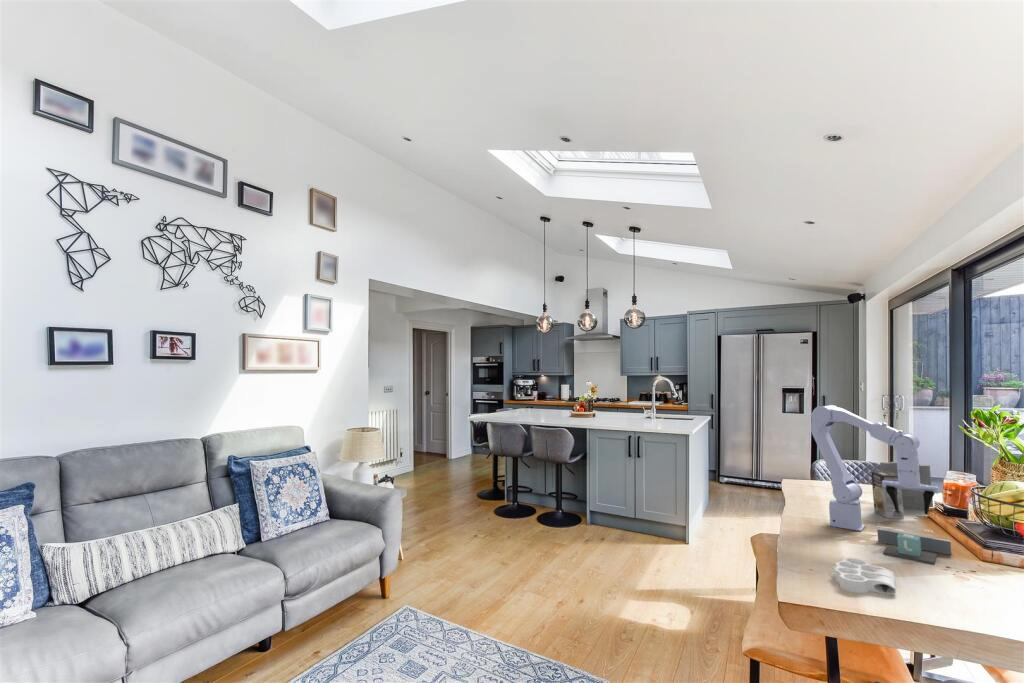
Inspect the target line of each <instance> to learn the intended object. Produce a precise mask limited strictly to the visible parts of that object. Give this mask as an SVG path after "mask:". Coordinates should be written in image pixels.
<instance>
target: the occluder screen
mask: <svg viewBox="0 0 1024 683" xmlns="http://www.w3.org/2000/svg"><path fill="white" fill-rule="evenodd" d="M876 531H877V542H878V543H884V544H887V545H893V546H898V541H897V536H898V534H899V532H901V533H905V532H903V531H896V530H892V529H885V528H881V527H878V528H877V529H876ZM906 533H907V534H911V533H909V532H906ZM912 534H913V535H917V534H915V533H912ZM918 535H919V536H920V541H921V551H925V552H931V553H936V554H943V555H949V556H952V545H951V543H952V542H951V540H950V539H944V538H938V537H933V536H928V535H927V536H926V535H921V534H918Z"/></svg>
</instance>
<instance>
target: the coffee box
mask: <svg viewBox="0 0 1024 683" xmlns="http://www.w3.org/2000/svg"><path fill="white" fill-rule="evenodd" d="M883 480H886V481H898V475H896V474H894V473H891V472H889V471H881V470H880V471H878V470H877V471H876V470H875V471H874V470H872V471H871V483H872V497H873V499H872V500H873V510H874V512H875V513H876V514H878V515H880V516H882V517H884V518H885V519H898V520H899V519H900V520H901V519H902V520H903V519H905V517H904V516H905V515H904V508H903V500H902V489H900V488H897V498H898V505H899V509H898V510H895V507H894V504H893V502H892V500H891V498H890V496H889V494H888V493H887V491H886V487H882V481H883Z"/></svg>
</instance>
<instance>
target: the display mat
mask: <svg viewBox="0 0 1024 683" xmlns="http://www.w3.org/2000/svg"><path fill="white" fill-rule="evenodd" d="M882 555H885V556H890V557H894V558H901V559H904V560H909V561H915V562H920V563H926V564H929V565H935V563H936V560H937V557H938V553H937V552H932V551H926V550H921V554H920V557H917V556H912V555H907V554H902V553H898V545H894V544H887V545H886V547H885V548H884V550H883V551H882Z"/></svg>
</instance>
